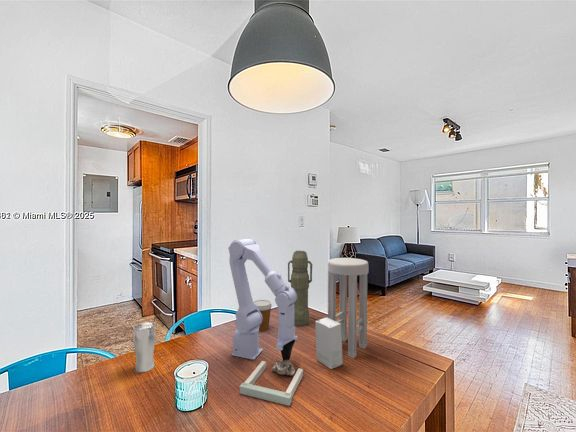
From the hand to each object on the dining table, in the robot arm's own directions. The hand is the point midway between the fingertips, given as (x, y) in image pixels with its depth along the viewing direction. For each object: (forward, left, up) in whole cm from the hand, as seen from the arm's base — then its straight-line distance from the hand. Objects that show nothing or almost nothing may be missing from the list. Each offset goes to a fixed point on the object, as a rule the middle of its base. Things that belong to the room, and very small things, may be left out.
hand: (286, 360), depth 100 cm
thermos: (-6, +37, -2) cm, 37 cm away
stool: (+19, +20, -2) cm, 27 cm away
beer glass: (-46, -18, -2) cm, 50 cm away
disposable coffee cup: (-21, +25, -2) cm, 32 cm away
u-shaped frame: (0, -11, -1) cm, 11 cm away
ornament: (+1, -4, -2) cm, 5 cm away
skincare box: (+14, +7, -2) cm, 16 cm away
